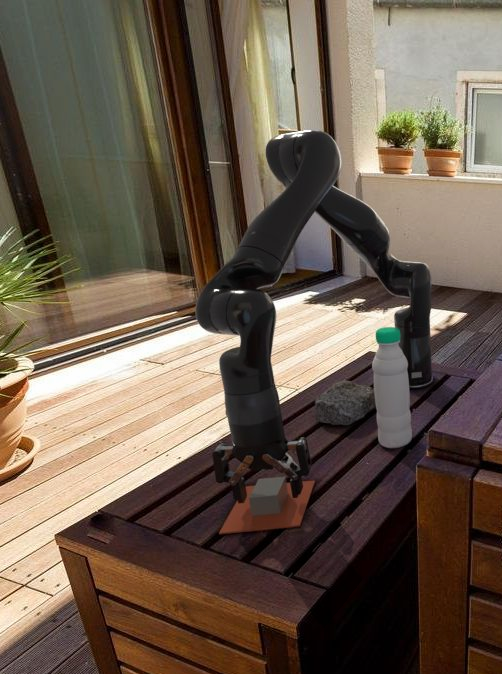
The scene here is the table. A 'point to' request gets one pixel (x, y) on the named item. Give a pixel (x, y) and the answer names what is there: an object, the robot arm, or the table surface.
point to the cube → (268, 496)
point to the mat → (287, 518)
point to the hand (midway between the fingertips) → (269, 497)
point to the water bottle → (391, 390)
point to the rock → (344, 403)
